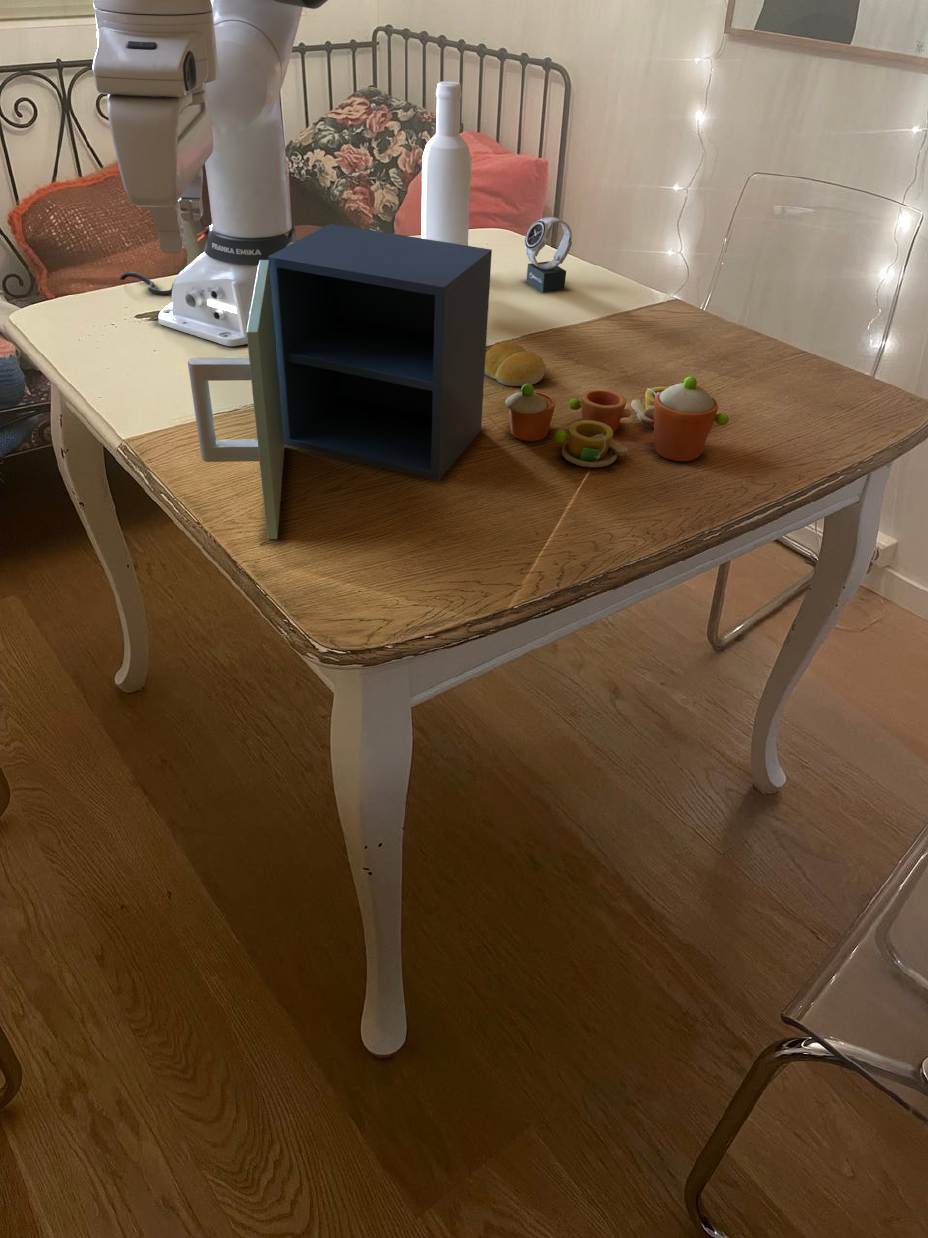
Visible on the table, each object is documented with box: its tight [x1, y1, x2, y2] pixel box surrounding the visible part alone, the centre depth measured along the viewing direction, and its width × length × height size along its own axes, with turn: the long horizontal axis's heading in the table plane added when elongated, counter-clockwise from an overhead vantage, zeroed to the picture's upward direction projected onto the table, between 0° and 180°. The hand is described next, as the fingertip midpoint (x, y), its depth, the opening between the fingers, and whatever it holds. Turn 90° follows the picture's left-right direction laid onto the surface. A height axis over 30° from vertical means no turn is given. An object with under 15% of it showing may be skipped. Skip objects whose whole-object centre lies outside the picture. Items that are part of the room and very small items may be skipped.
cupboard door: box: [187, 260, 286, 540], centre depth 97 cm, size 7×20×22 cm, turn 7°
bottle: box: [420, 80, 473, 246], centre depth 151 cm, size 8×8×30 cm
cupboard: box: [268, 223, 493, 481], centre depth 108 cm, size 14×20×22 cm
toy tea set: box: [504, 376, 730, 468], centre depth 113 cm, size 26×16×10 cm, turn 104°
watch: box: [524, 216, 573, 293], centre depth 158 cm, size 6×8×11 cm
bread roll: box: [484, 341, 546, 387], centre depth 130 cm, size 8×9×4 cm
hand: (183, 234), depth 83 cm, fingers open, 8 cm apart
